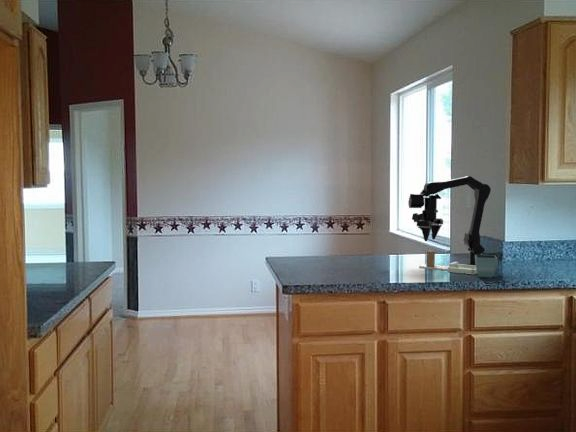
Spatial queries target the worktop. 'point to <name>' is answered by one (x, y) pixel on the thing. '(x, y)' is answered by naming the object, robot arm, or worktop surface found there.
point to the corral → (460, 270)
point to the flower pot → (486, 265)
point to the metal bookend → (432, 265)
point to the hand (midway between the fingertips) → (429, 240)
